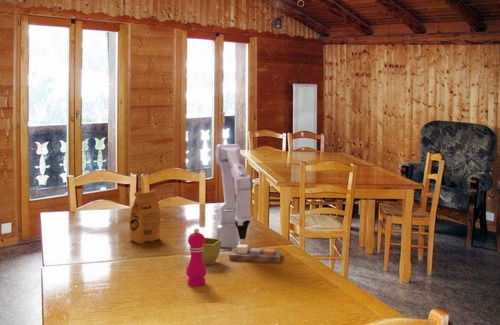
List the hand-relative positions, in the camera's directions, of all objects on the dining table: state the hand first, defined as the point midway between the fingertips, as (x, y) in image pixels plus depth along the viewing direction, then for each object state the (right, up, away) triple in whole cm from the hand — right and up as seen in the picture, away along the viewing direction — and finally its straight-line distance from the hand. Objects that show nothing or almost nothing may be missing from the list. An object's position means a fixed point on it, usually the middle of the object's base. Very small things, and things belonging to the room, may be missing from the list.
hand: (242, 238), depth 245 cm
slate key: (+5, -7, 0) cm, 9 cm away
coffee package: (-44, -4, +25) cm, 50 cm away
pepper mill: (-16, -12, -31) cm, 37 cm away
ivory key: (0, -6, +1) cm, 6 cm away
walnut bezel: (+5, -8, 0) cm, 9 cm away
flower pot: (-14, -9, -7) cm, 18 cm away
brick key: (+11, -7, 0) cm, 13 cm away
